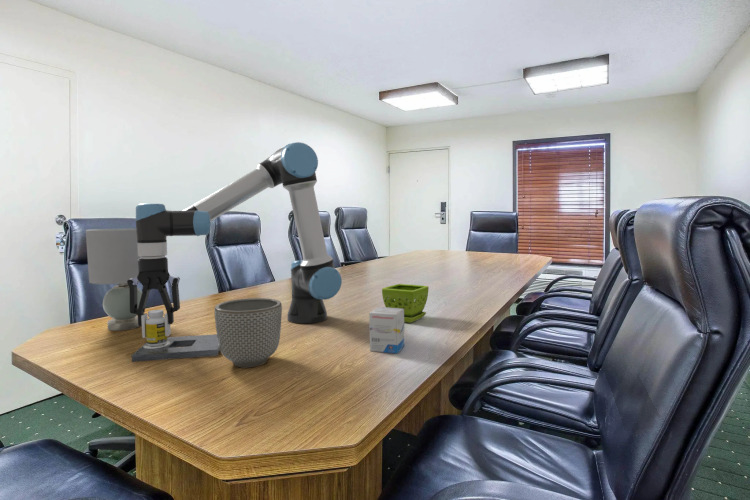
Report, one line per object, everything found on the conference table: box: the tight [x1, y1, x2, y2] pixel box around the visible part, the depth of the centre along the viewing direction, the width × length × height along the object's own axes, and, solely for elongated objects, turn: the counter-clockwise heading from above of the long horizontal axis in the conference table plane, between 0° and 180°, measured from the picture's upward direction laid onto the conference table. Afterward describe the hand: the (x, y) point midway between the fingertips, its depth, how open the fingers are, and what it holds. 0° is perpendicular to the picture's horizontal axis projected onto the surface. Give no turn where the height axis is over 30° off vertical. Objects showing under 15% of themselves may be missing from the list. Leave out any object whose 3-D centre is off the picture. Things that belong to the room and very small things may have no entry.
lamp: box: [85, 228, 142, 332], centre depth 144 cm, size 20×20×35 cm
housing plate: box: [131, 333, 221, 363], centre depth 120 cm, size 22×16×2 cm
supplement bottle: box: [145, 309, 168, 346], centre depth 118 cm, size 5×5×10 cm
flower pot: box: [381, 283, 430, 323], centre depth 154 cm, size 14×14×13 cm
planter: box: [214, 297, 283, 369], centre depth 108 cm, size 17×17×16 cm
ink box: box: [368, 306, 405, 355], centre depth 120 cm, size 9×8×12 cm
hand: (156, 335), depth 118 cm, fingers closed on supplement bottle, 5 cm apart
